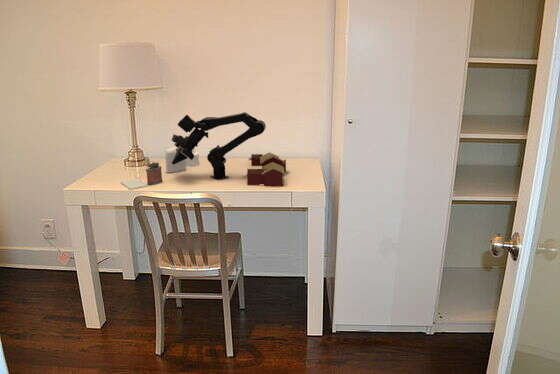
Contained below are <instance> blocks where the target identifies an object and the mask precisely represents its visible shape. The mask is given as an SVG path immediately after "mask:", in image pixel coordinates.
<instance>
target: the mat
mask: <svg viewBox="0 0 560 374" xmlns="http://www.w3.org/2000/svg"><path fill="white" fill-rule="evenodd" d="M119 183H120V184H121V183H122V184H121V185H122V186H124V187H125V188H126V189H128V190H130V191H131V190H136V189H142V188H146V187H149V185H147V183H146V182H144V181H142V180H140V179H138V178H133V179H129V180H127V179H126V180H123V181H122V180H121V181H119Z"/></svg>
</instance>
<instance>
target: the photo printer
mask: <svg viewBox="0 0 560 374" xmlns="http://www.w3.org/2000/svg"><path fill="white" fill-rule="evenodd" d="M176 148H177V147H176V146H175V147H170V148H168V149H166V150H165V152H164V154H165V170H166V173H167V174H170V173H176V172H183V171H186V170H187V168H186V164H185V160H183V161H180V162H178V163H176V164H174V165H173V164H172V161H173V159H174V157H175V155H176Z"/></svg>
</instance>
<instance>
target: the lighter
mask: <svg viewBox="0 0 560 374" xmlns="http://www.w3.org/2000/svg"><path fill="white" fill-rule="evenodd" d="M146 167H147V168H146V169H145V171H146V182H147V183H146V184H147V185H148V186H154V185H159V184H162V183H163V182H164V180H163V176H162V166H161V165H160V163H159V162H158V161H157V162H154V161H152V162H151V163H148V164H146Z"/></svg>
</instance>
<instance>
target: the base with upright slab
mask: <svg viewBox="0 0 560 374" xmlns="http://www.w3.org/2000/svg"><path fill="white" fill-rule="evenodd" d="M192 153H193V154H194V158H193V159H192V160H191V159H190V158H188V159H185V164H186V167H187V168H188V167H189V168H190V167H191V168H192V167H197V166H199V165H200V157H199V156H200V155H199V152H197V151H196V152H195V148H194V149H193V150H192Z"/></svg>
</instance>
